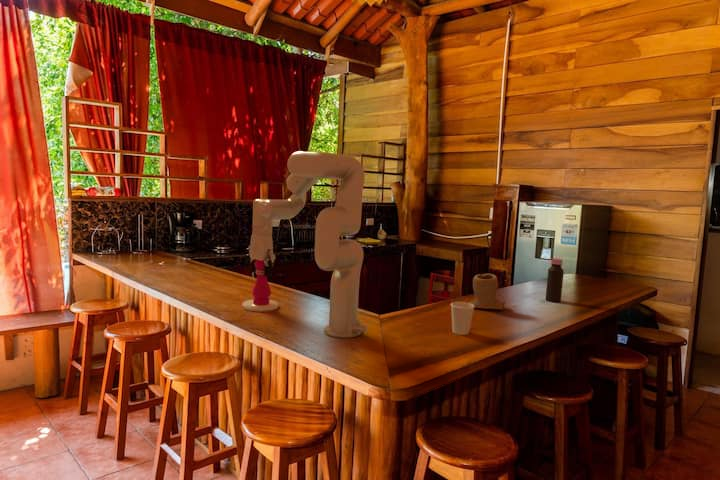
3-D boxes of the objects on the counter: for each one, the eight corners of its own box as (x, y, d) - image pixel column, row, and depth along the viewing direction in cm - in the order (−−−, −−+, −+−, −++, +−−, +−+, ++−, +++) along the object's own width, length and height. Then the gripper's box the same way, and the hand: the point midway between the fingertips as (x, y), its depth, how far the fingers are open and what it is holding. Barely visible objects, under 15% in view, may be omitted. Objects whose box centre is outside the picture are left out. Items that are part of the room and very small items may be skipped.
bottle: (558, 299, 229) (562, 258, 226) (562, 303, 222) (566, 260, 220) (543, 298, 229) (547, 257, 227) (547, 302, 223) (551, 259, 220)
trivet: (285, 306, 191) (285, 302, 191) (262, 313, 179) (262, 309, 179) (258, 300, 198) (258, 297, 198) (234, 307, 186) (234, 303, 186)
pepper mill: (273, 302, 190) (275, 253, 188) (265, 306, 184) (266, 255, 181) (257, 300, 192) (258, 251, 190) (248, 304, 185) (249, 253, 183)
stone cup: (469, 310, 200) (471, 275, 198) (468, 303, 211) (471, 270, 210) (506, 314, 197) (509, 278, 195) (504, 307, 208) (507, 273, 206)
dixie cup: (455, 327, 174) (457, 300, 172) (476, 332, 168) (478, 305, 167) (444, 332, 167) (446, 304, 166) (465, 337, 162) (468, 309, 161)
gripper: (242, 228, 189) (241, 271, 191) (266, 233, 176) (265, 278, 178) (258, 228, 194) (257, 269, 196) (283, 232, 181) (281, 276, 183)
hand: (261, 274), depth 187 cm, fingers open, 9 cm apart
